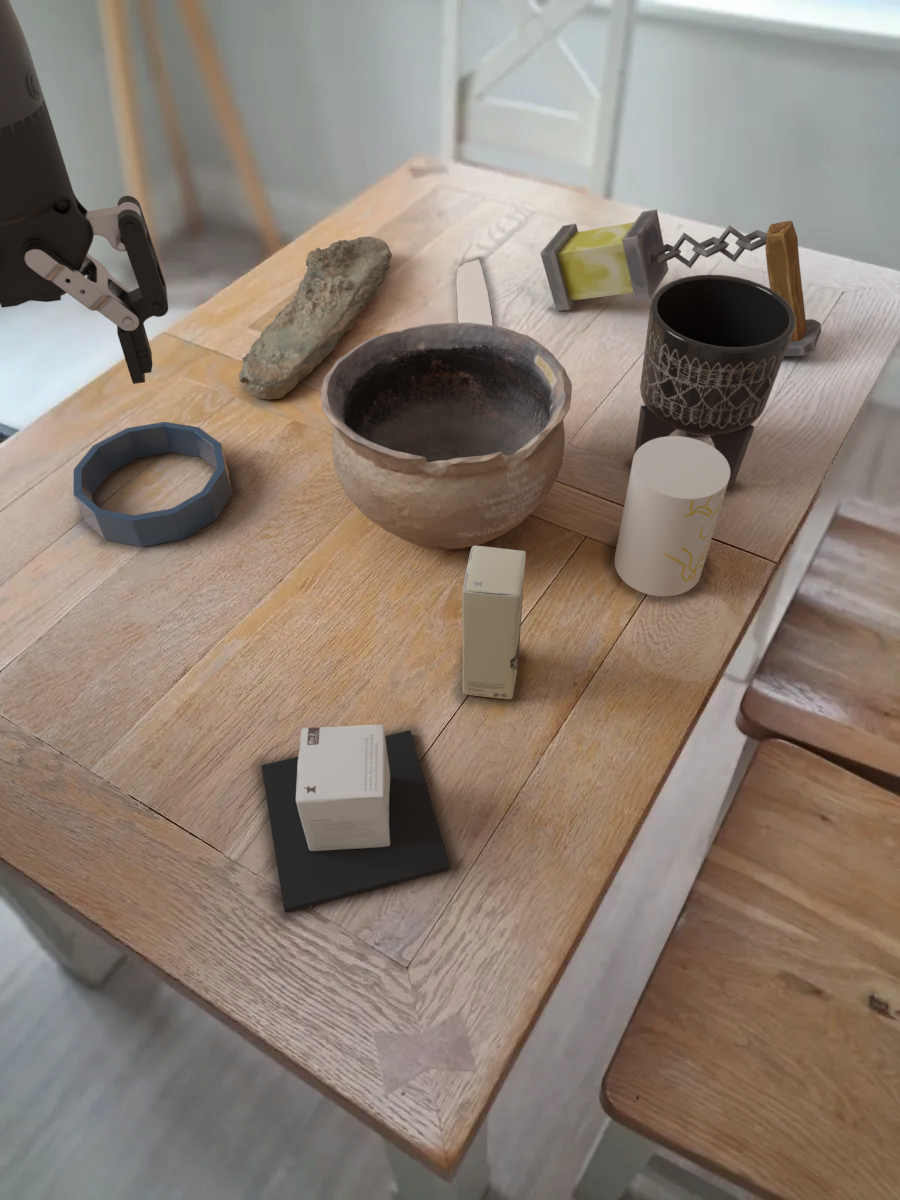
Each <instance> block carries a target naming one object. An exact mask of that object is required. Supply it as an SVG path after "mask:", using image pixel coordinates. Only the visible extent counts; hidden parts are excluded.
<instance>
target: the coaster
mask: <svg viewBox="0 0 900 1200" xmlns="http://www.w3.org/2000/svg"><path fill="white" fill-rule="evenodd" d="M385 740H386V747H387V754H388V762H389V770H390V791H389V833H390V846H387V847H376V848H358V849H339V850H323V851H310V850H309V848H308V844H307V840H306V837H305V833H304V830H303V826H302V822H301V819H300V815H299V811H298V807H297V803H296V784H297V766H298V757H299V756H295V757H290V758H286V759H282V760H278V761H273V762H269V763H264V764H262V765H261V767H260V768H261V772H262V779H263V785H264V792H265V797H266V804H267V810H268V816H269V823H270V829H271V836H272V842H273V843H272V844H273V848H274V854H275V861H276V867H277V868H276V869H277V875H278V879H279V886H280V887H279V888H280V892H281V898H282V899H281V900H282V905H283V906H282V907H283V911H284V913H290V912H294V911H298V910H302V909H305V908H309V907H313V906H317V905H320V904H324V903H327V902H331V901H336V900H339V899H343V898H347V897H351V896H355V895H358V894H361V893H365V892H370V891H372V890H373V891H374V890H376V889H381V888H385V887H388V886H393V885H396V884H399V883H403V882H406V881H411V880H414V879H418V878H422V877H426V876H430V875H433V874H437V873H440V872H445V871H448V870H451V864H450V861H449V858H448V855H447V851H446V847H445V844H444V840H443V837H442V833H441V830H440V826H439V823H438V820H437V816H436V813H435V809H434V806H433V803H432V800H431V796H430V792H429V789H428V786H427V783H426V779H425V776H424V772H423V769H422V765H421V762H420V758H419V754H418V751H417V748H416V745H415V741H414V738H413V735H412V731H411V730H410V729H409V730H404V731H401V732H396V733H392V734H387V735H385Z"/></svg>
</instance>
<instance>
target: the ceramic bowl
mask: <svg viewBox="0 0 900 1200" xmlns="http://www.w3.org/2000/svg"><path fill="white" fill-rule="evenodd" d="M572 393H573V383H572V381H571V380H570V378H569V375H568V373H567V370H566V369H565V367H564V366H563V365H562V363H560V361H559V360H558V359H557V358H556V357H555V355H554V354H553V353H552V352H551V351H550V350H549V349H548V348H547V347H545V346H544V345H543V344H542V343H540V342H539V341H538V340H536V339H534V338H533V337H532V336H529V335H527V334H523V333H520V332H517V331H515V330H513V329H510V328H506V327H502V326H498V325H497V326H496V325H493V326H492V325H483V324H476V323H458V322H443V323H442V322H441V323H429V324H422V325H417V326H413V327H408V328H405V329H400V330H396V331H392V332H388V333H383V334H380V335H376V336H373V337H370V338H369V339H367V340H365V341H363V342H362V343H360V344H358V345H357V346H355V347H354V348H352V349H351V350H349V351H348V352H347V353H346V354H344V355H342V356H341V357H339V358H337V360H336V361H335V363H334V364H333V366H332V367H331V369H330V370H329V371H328V372H327V373H326V375H324V377H323V380H322V384H321V389H320V396H319V398H320V403H321V410H322V413H323V414H324V416H325V417H326V419H327V420H328V422H329V423H330V424H331V425H332V434H331V454H332V461H333V462H332V463H333V467H334V471H335V474H336V478H337V479H338V482H339V484H340V487H341V488H342V490H343V492H344V494H345V496H346V497H347V498H348V499H349V500H350V501H351V502H352V503H353V504H354V505H355V506H356V508H357V509H358V510H359V511H360V512H361V514H363V515H364V516H365V517H366V518H368V519H369V520H370V521H371V522H373V523H374V524H375V525H377V526H379V527H380V528H381V529H383V530H384V531H386V532H388V533H390V534H391V535H394V536H396V537H397V538H399V539H401V540H404V541H406V542H408V543H411V544H413V545H416V546H418V547H422V548H429V549H437V550H455V549H464V548H468V547H469V548H470V547H472V546H474V545H475V546H480V545H483V544H485V543H488V542H489V541H492V540H494V539H497V538H499V537H501V536H503V535H505V534H507V533H508V532H510V531H511V530H513V529H515V528H517V526H519V525H520V524H521V523H523V522H524V521H525V520H526V519H527V518H528V517H529V516H530V515H531V514H532V513H533V512H534V511H535V510H536V508H538V506H539V505H541V504H542V502H543V501H544V500H545V499H546V497H547V496H548V495H549V493H550V492H551V490H552V488H553V487H554V484H555V483H556V480H557V479H558V477H559V474H560V471H561V468H562V465H563V460H564V454H565V437H566V435H565V423H564V419H565V417H566V415H567V414H568V412H569V410H570V409H571V403H572Z"/></svg>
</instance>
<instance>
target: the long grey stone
mask: <svg viewBox="0 0 900 1200" xmlns="http://www.w3.org/2000/svg"><path fill="white" fill-rule="evenodd" d="M392 256H393V253H392V251H391V249H390V246H389V245H388V244H387V242H386V241H385V240H383V239H381V238H378V237H373V236H370V235H369V236H359V237H357V238H354V239H350V240H346V239H343V240H340V239H339V240H337V241H335V242H332V243H330V245H329V246H328V247H325V248H322V249H321V248H320V247H316V248H315V250H310V251H309V252H308V253H307V256H306V259H305V264H306V266H307V268H306V272H305V273H304V275H303V276H304V277H303V279H302V280H301V281H300V282H299V283H298V288H297V289H298V290H297V292H296V295H295V296H293V298H292V299H291V301H290V302H289V303H287V304H285V305H284V308H283V309H280V311H279V312H278V313H277V314H275V316H274V319H273V321H272V322H271V323H270V324H269V325H267V326H266V327H265V329H264V330H263V331H262V332H261V333H260V335H259V338H257V339H256V340H255V341H254V342H253V344H252V345H251V346H250V347H249V351H248V352H249V353H246V354H245V356H243V357H242V358H241V361H242V363H243V364H242V366H241V370H240V372H239V373H238V379H239V382H240V383H242V384H245V383H246V387H245V388H246V391H247V392H248V393H249V394H250V395H251V396H254V397H255V398H257V399H258V398H259V399H262V400H279V399H281V398H284V397H285V396H286V395H287V394H289V393H290V392H291V391H292V390H293V389H294V388H296V386H297V385H298V384H299V382H301V381H302V380H304V379H305V378H306V377H307V376H308V375H310V374H311V373H312V372H313V370H314V369H315V368H316V366H318V365H320V364H321V363H322V362H323V360H324V359H325V358H326V357H327V356H329V355H330V354H331V353H332V352H333V351H334V350H335V348H336V347H337V345H338V344H337V343H339V342H340V340H341V339H342V337H343V336H344V335H345V334H346V332H350V331H351V330H352V329H353V328H354V325H355V321H356V320H357V318H358V317H359V316H360V314H361V313H362V312H363V311H364V309H365V308H366V307H368V306H369V305H370V304H371V301H373V300H374V299H375V297H376V294H377V292H378V290H379V287H380V285H381V284H382V283H383V281H384V280H385V275H386V273H387V272H388V271H389V269H390V268H391V265H390V262H391V260H392V258H393V257H392Z"/></svg>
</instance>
